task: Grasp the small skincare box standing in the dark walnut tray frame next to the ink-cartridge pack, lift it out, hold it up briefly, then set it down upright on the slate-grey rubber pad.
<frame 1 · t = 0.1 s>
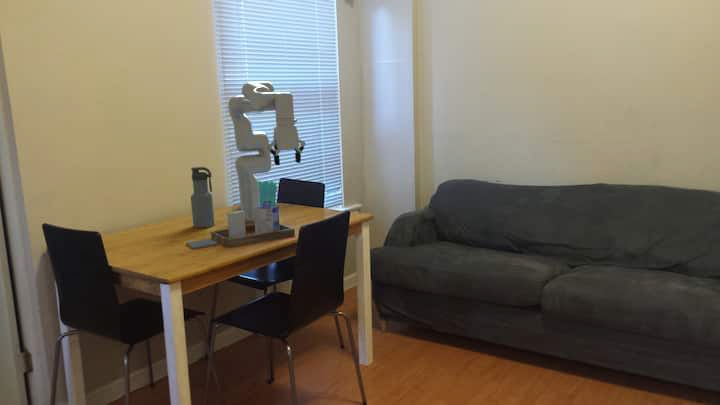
hand: (287, 163, 249), 31 cm above the table, tool pointing down, fingers open, 9 cm apart
tray frame: (253, 236, 256), on the table
skincare box: (237, 240, 252), resting in tray frame
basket: (260, 207, 324), on the table
ink cartridge box: (268, 234, 260), resting in tray frame
pad: (201, 244, 246), on the table
water bottle: (204, 226, 282), on the table
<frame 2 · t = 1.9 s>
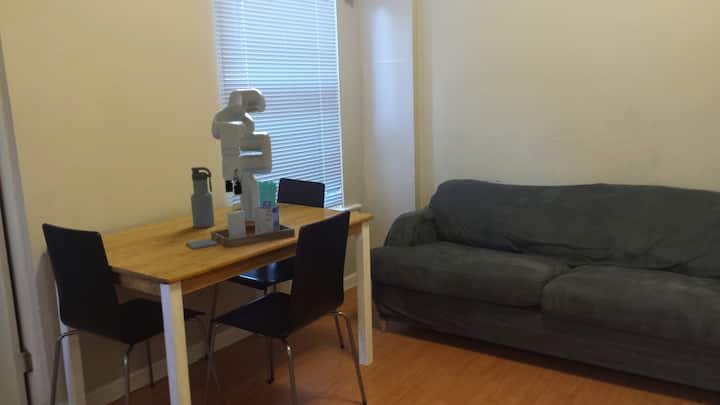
hand: (233, 193, 248), 20 cm above the table, tool pointing down, fingers open, 9 cm apart
nothing on the table moved.
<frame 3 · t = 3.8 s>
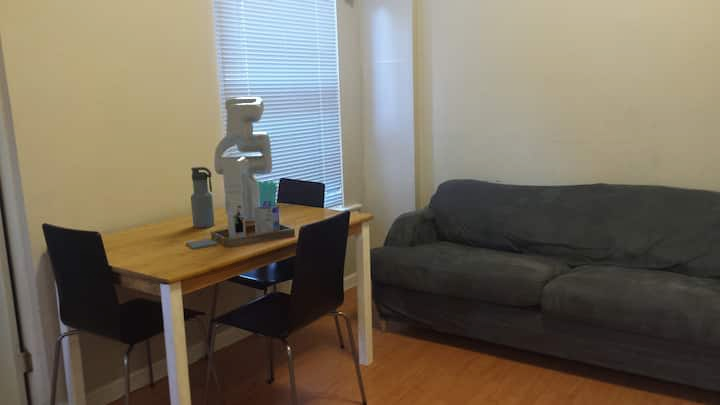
hand: (237, 230, 251), 4 cm above the table, tool pointing down, fingers closed on skincare box, 5 cm apart
skincare box: (237, 240, 252), resting in tray frame, touching gripper
everything else where it was.
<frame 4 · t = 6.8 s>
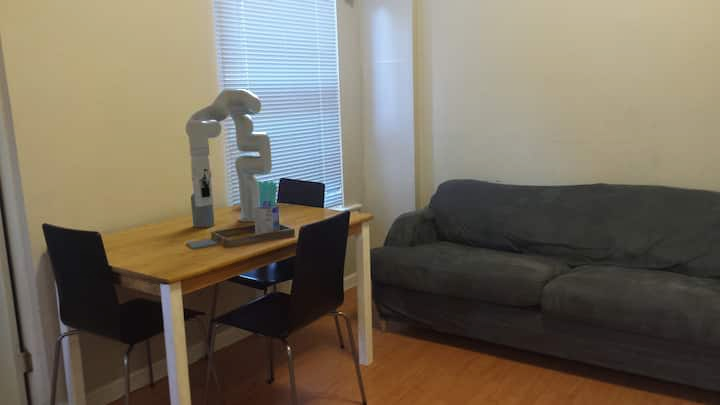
hand: (203, 195, 243), 20 cm above the table, tool pointing down, fingers closed on skincare box, 5 cm apart
skincare box: (204, 205, 243), point 16 cm above the table, touching gripper
everything else where it was.
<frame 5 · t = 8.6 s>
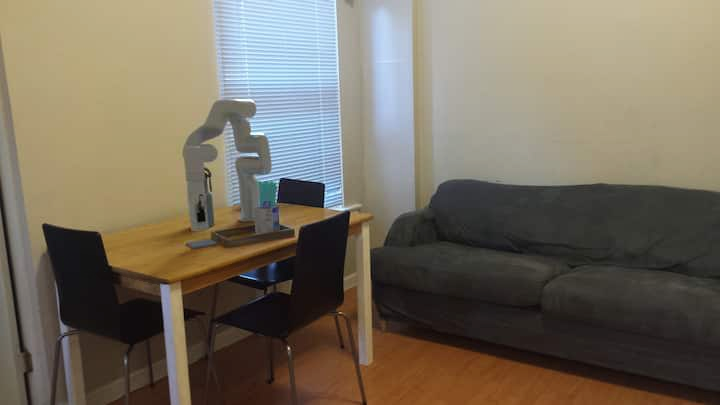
hand: (199, 220, 244), 10 cm above the table, tool pointing down, fingers closed on skincare box, 5 cm apart
skincare box: (200, 230, 244), point 6 cm above the table, touching gripper
everything else where it was.
when the fingers open (5 cm above the table, at t = 9.9 s): skincare box stays where it is, resting on pad.
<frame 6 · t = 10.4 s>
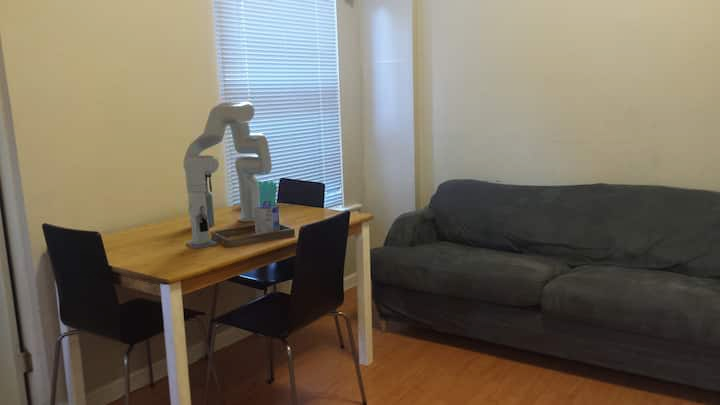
hand: (200, 229, 245), 7 cm above the table, tool pointing down, fingers open, 9 cm apart
skincare box: (201, 243, 246), point 1 cm above the table, touching pad
everything else where it was.
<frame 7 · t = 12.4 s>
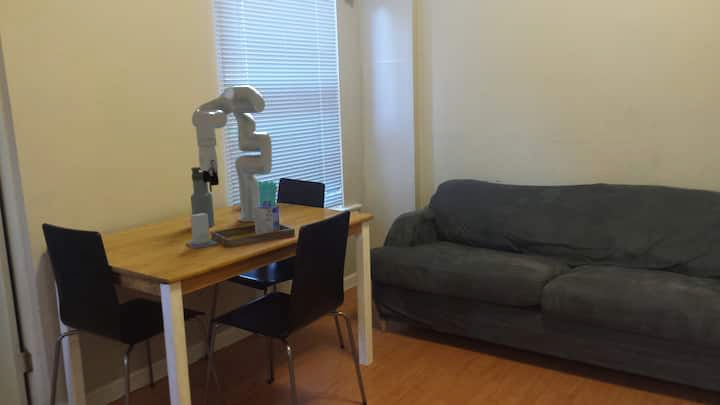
hand: (211, 183, 247), 25 cm above the table, tool pointing down, fingers open, 9 cm apart
nothing on the table moved.
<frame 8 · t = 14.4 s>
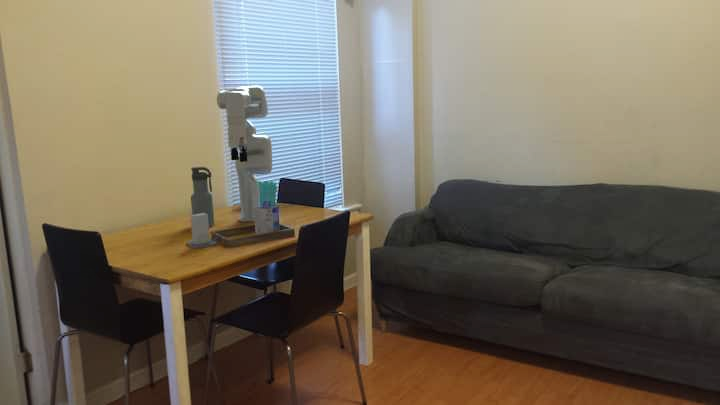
hand: (239, 160, 257), 32 cm above the table, tool pointing down, fingers open, 9 cm apart
nothing on the table moved.
at the end: skincare box inside the target area on the pad (0.1 cm from its centre), point 0.6 cm above the pad's base; skincare box tilted 0°; the gripper is holding nothing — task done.
